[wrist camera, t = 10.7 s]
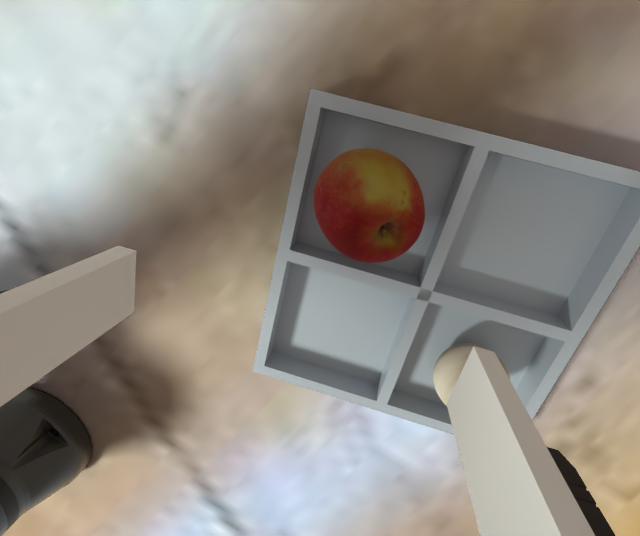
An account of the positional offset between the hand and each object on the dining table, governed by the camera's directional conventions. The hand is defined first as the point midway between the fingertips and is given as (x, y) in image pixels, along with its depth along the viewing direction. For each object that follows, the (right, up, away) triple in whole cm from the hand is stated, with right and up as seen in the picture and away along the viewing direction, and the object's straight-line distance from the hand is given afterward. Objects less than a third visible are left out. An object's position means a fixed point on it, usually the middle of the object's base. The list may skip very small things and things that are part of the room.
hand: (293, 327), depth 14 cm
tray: (+10, +1, +18) cm, 21 cm away
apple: (+5, +8, +16) cm, 18 cm away
